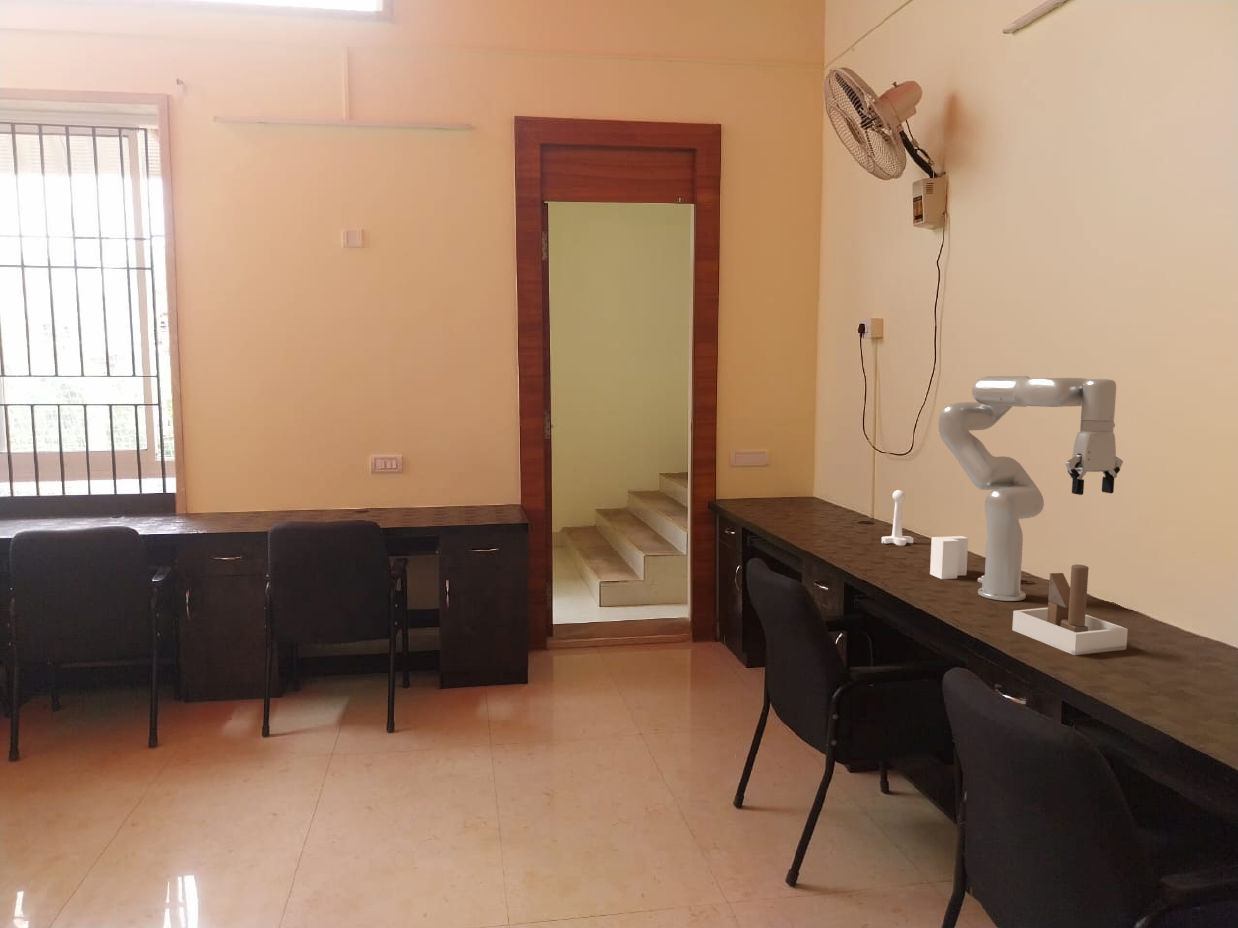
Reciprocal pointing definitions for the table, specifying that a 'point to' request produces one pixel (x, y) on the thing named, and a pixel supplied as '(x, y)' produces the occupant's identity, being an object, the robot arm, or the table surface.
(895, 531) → the joystick
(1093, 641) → the tray
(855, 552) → the table surface
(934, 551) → the corner bracket
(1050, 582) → the brown rod with wedge
